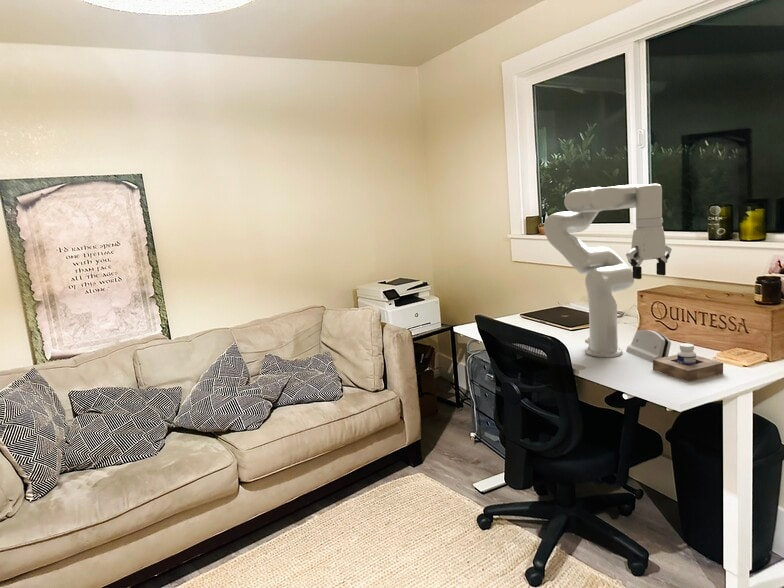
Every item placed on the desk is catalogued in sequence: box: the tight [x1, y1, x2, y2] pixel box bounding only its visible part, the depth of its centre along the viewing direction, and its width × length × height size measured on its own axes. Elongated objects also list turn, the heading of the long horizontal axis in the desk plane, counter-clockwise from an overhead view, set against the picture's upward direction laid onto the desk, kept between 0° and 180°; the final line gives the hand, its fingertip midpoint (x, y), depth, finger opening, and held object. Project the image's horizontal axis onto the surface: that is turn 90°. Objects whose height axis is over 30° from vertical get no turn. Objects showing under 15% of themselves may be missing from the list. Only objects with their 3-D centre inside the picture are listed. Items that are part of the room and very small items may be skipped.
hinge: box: [626, 329, 672, 363], centre depth 198 cm, size 17×5×10 cm, turn 10°
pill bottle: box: [677, 342, 697, 366], centre depth 178 cm, size 5×5×9 cm
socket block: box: [652, 353, 724, 383], centre depth 179 cm, size 14×14×4 cm
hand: (649, 276), depth 182 cm, fingers open, 9 cm apart
